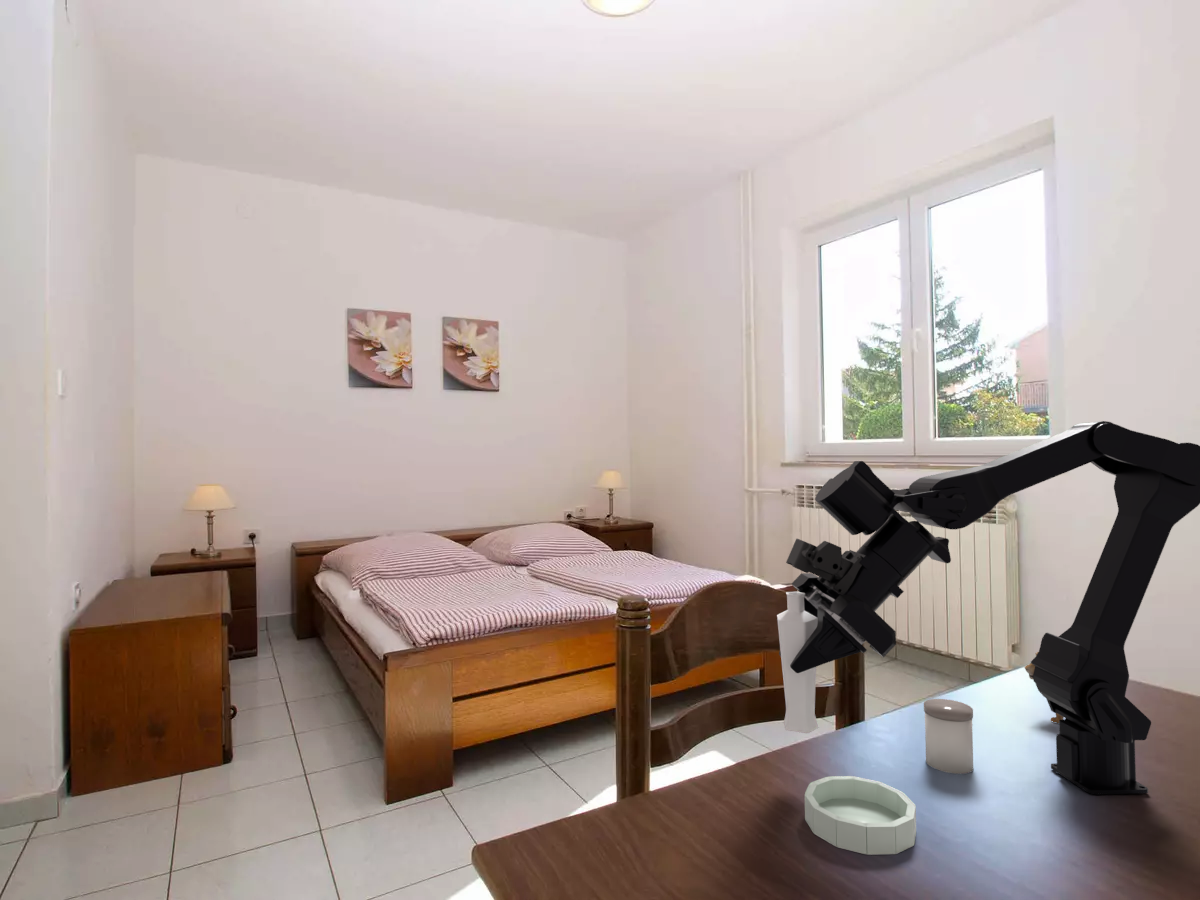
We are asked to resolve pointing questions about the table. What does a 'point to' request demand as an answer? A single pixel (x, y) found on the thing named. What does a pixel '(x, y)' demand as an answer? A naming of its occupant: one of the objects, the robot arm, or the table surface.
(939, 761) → the cream jar
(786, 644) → the white faceted vase
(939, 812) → the table surface
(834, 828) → the ring dish
